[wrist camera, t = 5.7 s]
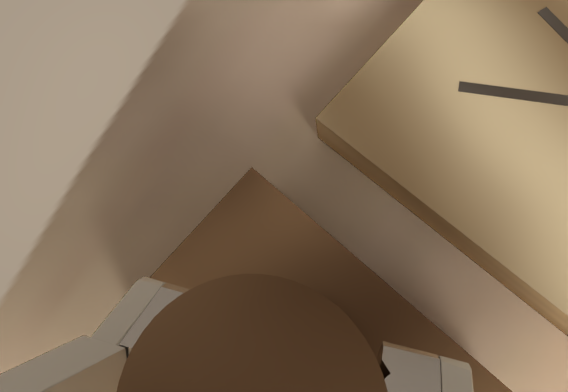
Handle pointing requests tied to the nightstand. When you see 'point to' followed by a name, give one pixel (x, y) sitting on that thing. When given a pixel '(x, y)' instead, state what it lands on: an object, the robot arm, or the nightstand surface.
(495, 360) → the nightstand surface
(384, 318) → the wooden stamp
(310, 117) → the nightstand surface
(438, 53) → the board
